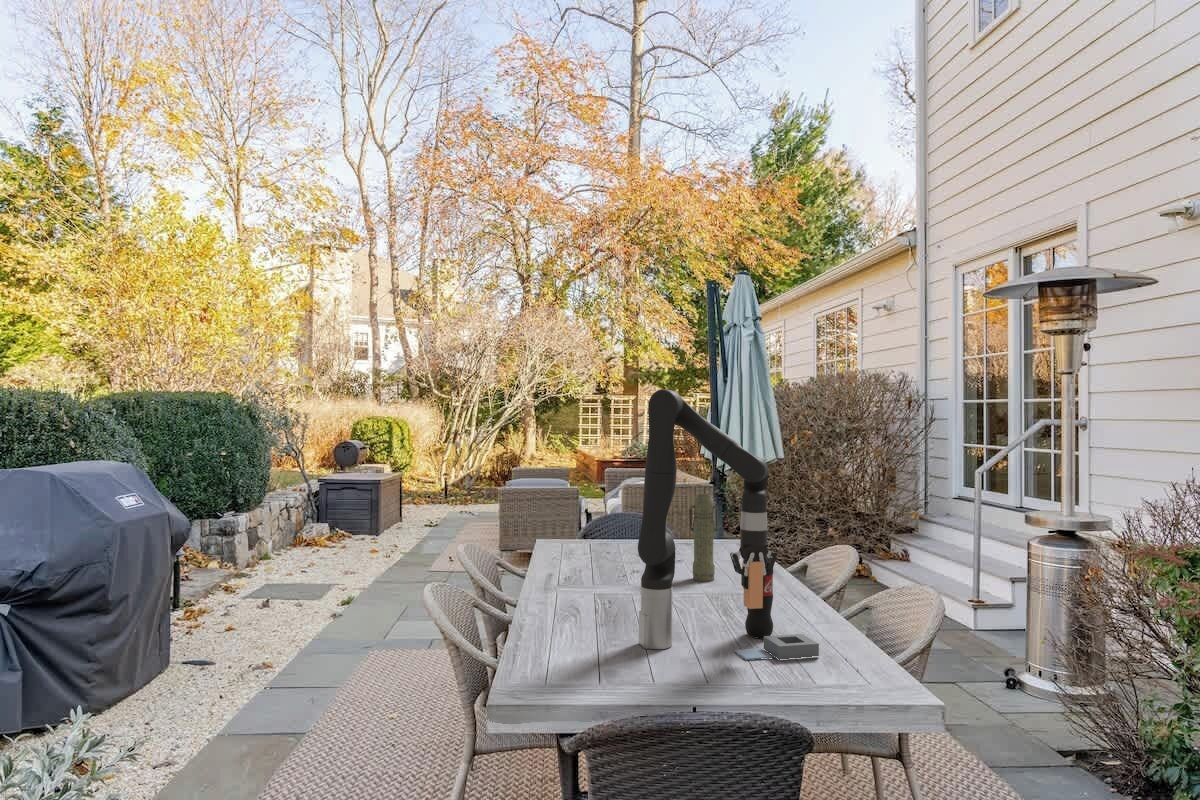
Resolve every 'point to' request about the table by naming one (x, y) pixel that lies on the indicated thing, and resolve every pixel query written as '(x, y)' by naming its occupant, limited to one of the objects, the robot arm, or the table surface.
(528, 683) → the table surface
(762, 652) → the mat
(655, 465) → the robot arm
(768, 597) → the cola bottle
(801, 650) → the socket block
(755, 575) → the plug
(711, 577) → the thermos
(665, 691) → the table surface
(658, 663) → the table surface
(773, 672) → the table surface
